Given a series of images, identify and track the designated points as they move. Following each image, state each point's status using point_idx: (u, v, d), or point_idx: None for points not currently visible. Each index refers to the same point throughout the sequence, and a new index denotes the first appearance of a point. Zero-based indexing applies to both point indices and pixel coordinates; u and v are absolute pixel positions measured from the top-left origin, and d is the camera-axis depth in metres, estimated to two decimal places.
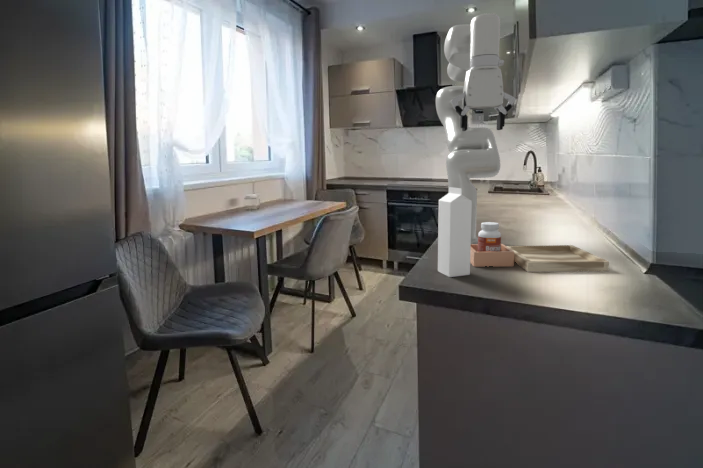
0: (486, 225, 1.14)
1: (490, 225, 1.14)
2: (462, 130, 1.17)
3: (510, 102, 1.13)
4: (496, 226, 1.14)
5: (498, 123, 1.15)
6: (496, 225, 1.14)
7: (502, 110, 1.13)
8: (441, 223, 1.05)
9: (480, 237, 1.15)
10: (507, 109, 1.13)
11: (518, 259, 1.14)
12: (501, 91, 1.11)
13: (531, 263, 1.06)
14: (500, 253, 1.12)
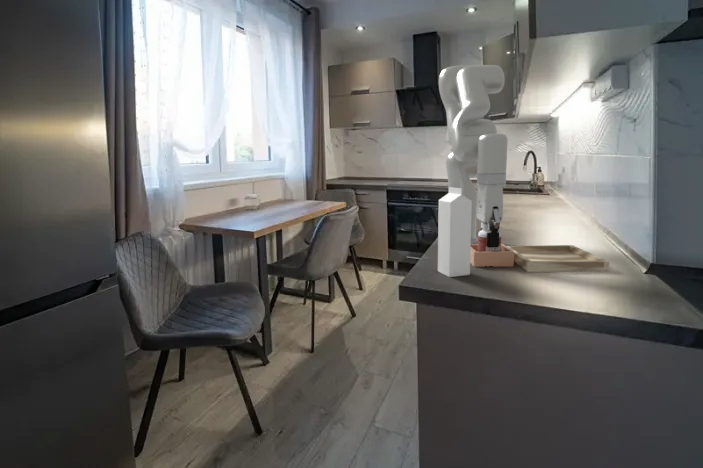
0: (486, 225, 1.14)
1: None
2: (488, 246, 1.13)
3: None
4: None
5: None
6: None
7: None
8: (441, 223, 1.05)
9: (480, 237, 1.15)
10: None
11: (518, 259, 1.14)
12: None
13: (531, 263, 1.06)
14: (500, 253, 1.12)
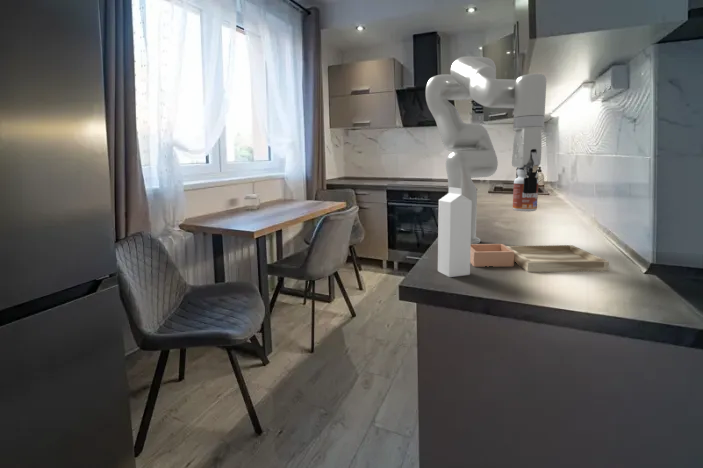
0: (523, 171, 1.10)
1: None
2: (525, 192, 1.10)
3: None
4: None
5: None
6: None
7: None
8: (441, 223, 1.05)
9: (517, 184, 1.12)
10: None
11: (518, 259, 1.14)
12: None
13: (531, 263, 1.06)
14: (500, 253, 1.12)
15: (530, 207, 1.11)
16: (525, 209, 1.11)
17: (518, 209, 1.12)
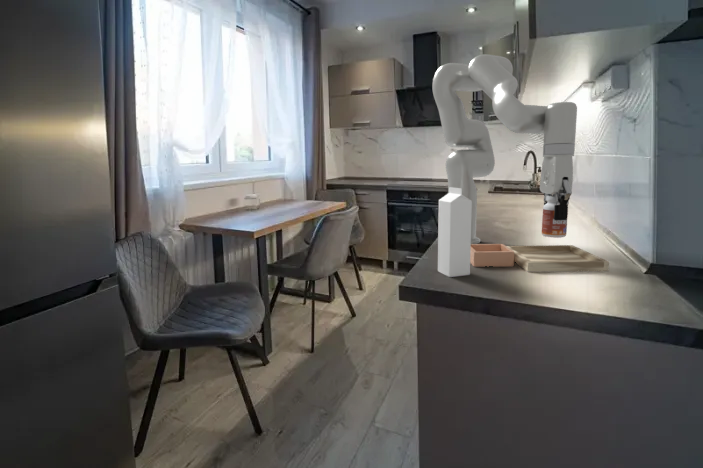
0: (553, 197, 1.11)
1: None
2: (556, 219, 1.10)
3: None
4: None
5: None
6: None
7: None
8: (441, 223, 1.05)
9: (547, 210, 1.12)
10: None
11: (518, 259, 1.14)
12: None
13: (531, 263, 1.06)
14: (500, 253, 1.12)
15: (560, 233, 1.11)
16: (555, 236, 1.11)
17: (548, 235, 1.12)
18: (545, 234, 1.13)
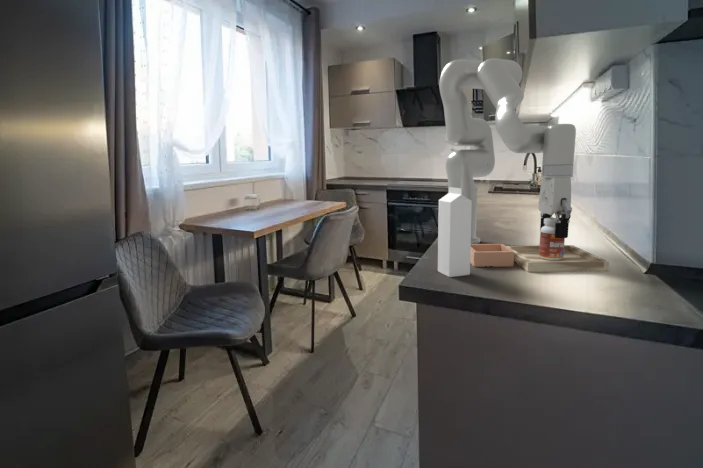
0: (550, 221, 1.12)
1: (555, 221, 1.12)
2: (557, 237, 1.10)
3: None
4: None
5: None
6: None
7: None
8: (441, 223, 1.05)
9: (544, 233, 1.13)
10: None
11: (518, 259, 1.14)
12: None
13: (531, 263, 1.06)
14: (500, 253, 1.12)
15: (557, 256, 1.13)
16: (552, 259, 1.13)
17: (545, 258, 1.14)
18: (542, 256, 1.15)
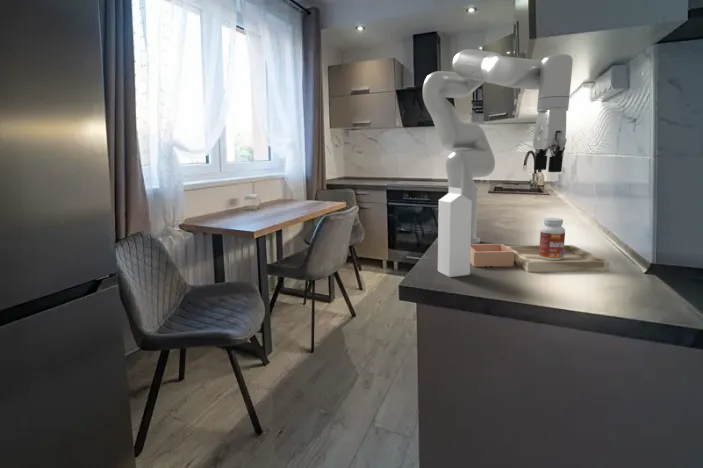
0: (550, 221, 1.12)
1: (555, 221, 1.12)
2: (550, 171, 1.09)
3: None
4: (561, 222, 1.12)
5: (541, 163, 1.18)
6: (561, 221, 1.12)
7: None
8: (441, 223, 1.05)
9: (544, 233, 1.13)
10: None
11: (518, 259, 1.14)
12: None
13: (531, 263, 1.06)
14: (500, 253, 1.12)
15: (557, 256, 1.13)
16: (552, 259, 1.13)
17: (545, 258, 1.14)
18: (542, 256, 1.15)
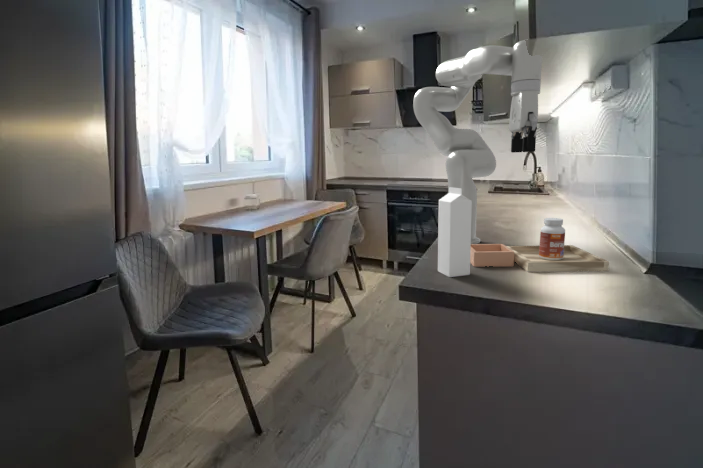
0: (551, 221, 1.12)
1: (555, 221, 1.12)
2: (524, 151, 1.13)
3: None
4: (561, 222, 1.12)
5: (517, 146, 1.22)
6: (561, 221, 1.12)
7: None
8: (441, 223, 1.05)
9: (544, 233, 1.13)
10: None
11: (518, 259, 1.14)
12: None
13: (531, 263, 1.06)
14: (500, 253, 1.12)
15: (557, 256, 1.13)
16: (552, 259, 1.13)
17: (545, 258, 1.14)
18: (542, 256, 1.15)
